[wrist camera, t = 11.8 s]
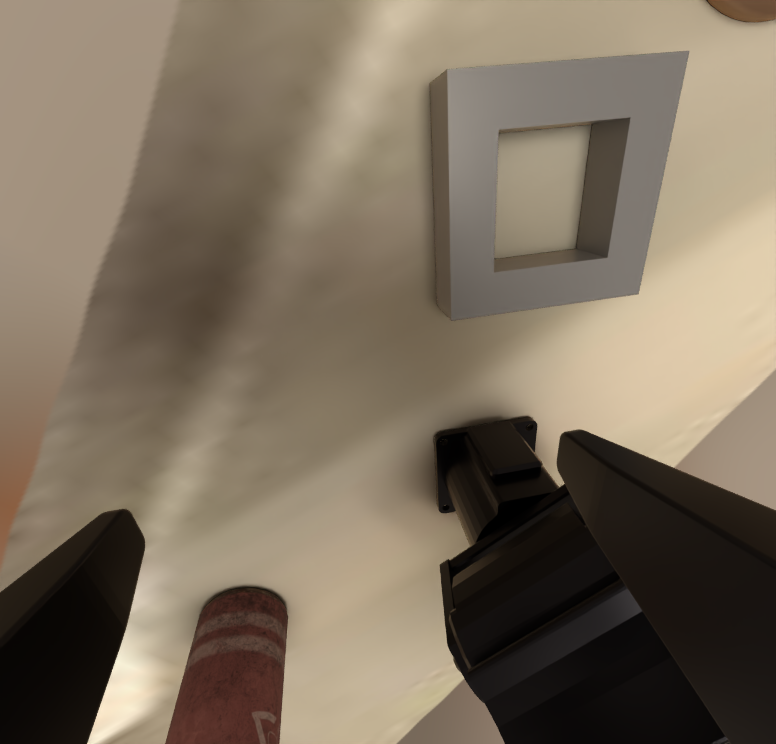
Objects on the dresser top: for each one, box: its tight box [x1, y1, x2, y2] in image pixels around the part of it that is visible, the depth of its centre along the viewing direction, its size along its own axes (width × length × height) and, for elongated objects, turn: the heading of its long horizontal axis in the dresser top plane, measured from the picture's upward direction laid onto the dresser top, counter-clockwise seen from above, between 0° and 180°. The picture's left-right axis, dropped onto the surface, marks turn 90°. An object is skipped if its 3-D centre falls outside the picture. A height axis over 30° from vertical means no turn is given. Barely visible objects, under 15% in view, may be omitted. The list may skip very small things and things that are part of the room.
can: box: [165, 588, 288, 744], centre depth 23 cm, size 6×6×14 cm
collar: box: [430, 51, 689, 321], centre depth 18 cm, size 10×10×2 cm
